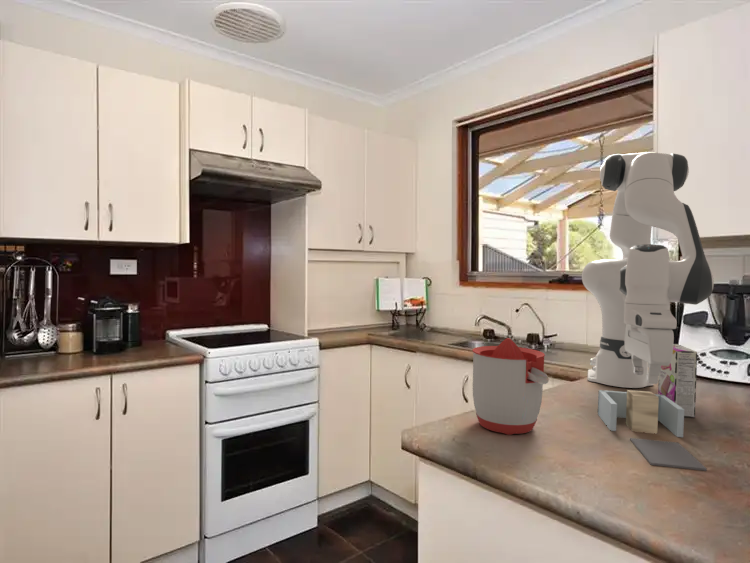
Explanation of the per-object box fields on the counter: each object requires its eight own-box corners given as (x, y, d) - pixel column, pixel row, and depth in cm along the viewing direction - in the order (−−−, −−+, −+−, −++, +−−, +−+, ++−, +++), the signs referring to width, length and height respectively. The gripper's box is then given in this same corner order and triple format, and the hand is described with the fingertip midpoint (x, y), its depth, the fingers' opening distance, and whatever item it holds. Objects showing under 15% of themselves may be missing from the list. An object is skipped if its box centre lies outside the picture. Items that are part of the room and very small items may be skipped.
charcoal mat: (630, 439, 99) (630, 437, 99) (678, 444, 97) (678, 442, 97) (650, 464, 86) (650, 462, 86) (706, 470, 84) (706, 468, 84)
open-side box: (597, 414, 116) (598, 389, 116) (662, 419, 113) (663, 394, 113) (610, 430, 105) (611, 403, 104) (683, 437, 101) (684, 409, 101)
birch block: (625, 424, 109) (627, 390, 109) (649, 426, 108) (651, 391, 108) (632, 431, 104) (633, 395, 104) (657, 433, 103) (658, 397, 103)
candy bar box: (655, 403, 127) (658, 343, 126) (676, 405, 126) (679, 344, 125) (673, 416, 116) (676, 350, 115) (696, 418, 115) (698, 351, 114)
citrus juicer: (519, 447, 94) (522, 347, 93) (455, 423, 108) (458, 335, 107) (564, 432, 103) (567, 341, 102) (500, 411, 117) (502, 331, 116)
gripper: (618, 312, 116) (616, 369, 116) (645, 320, 96) (644, 387, 96) (646, 313, 115) (645, 370, 115) (680, 321, 95) (678, 390, 95)
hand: (644, 378), depth 105 cm, fingers open, 8 cm apart
